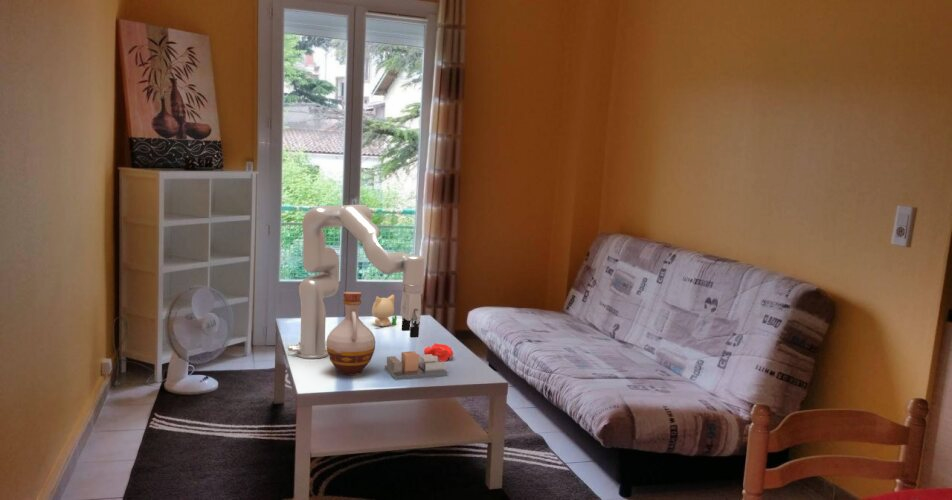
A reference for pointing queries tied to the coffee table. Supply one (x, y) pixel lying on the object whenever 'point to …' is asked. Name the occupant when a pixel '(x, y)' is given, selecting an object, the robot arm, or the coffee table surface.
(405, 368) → the block
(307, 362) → the coffee table surface
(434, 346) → the animal figurine
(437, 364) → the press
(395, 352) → the coffee table surface
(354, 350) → the jug
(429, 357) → the light grey sliding block
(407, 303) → the robot arm
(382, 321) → the kitten
